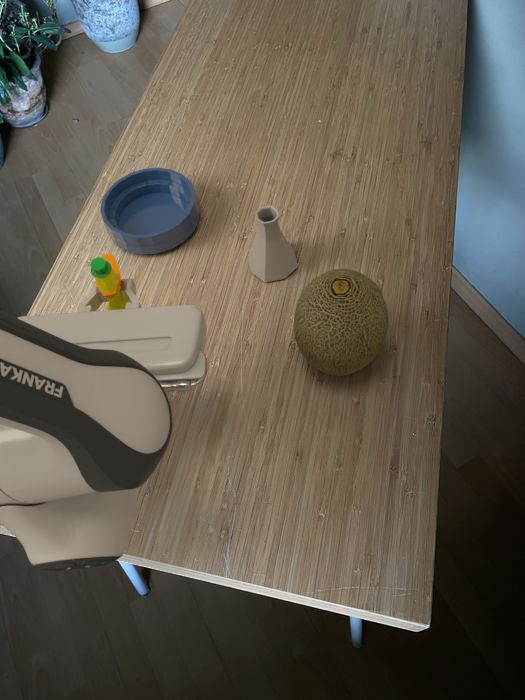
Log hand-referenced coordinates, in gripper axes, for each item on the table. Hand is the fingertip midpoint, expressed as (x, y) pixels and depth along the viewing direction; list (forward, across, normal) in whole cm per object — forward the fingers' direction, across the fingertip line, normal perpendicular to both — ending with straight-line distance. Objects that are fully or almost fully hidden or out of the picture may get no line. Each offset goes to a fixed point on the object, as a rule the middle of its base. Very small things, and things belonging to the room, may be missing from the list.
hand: (114, 283), depth 65 cm
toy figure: (-1, 0, +7) cm, 7 cm away
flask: (+15, -17, +17) cm, 28 cm away
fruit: (-1, -25, +17) cm, 30 cm away
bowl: (+25, +1, +17) cm, 30 cm away
